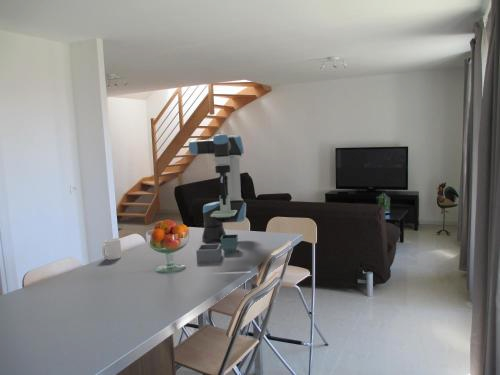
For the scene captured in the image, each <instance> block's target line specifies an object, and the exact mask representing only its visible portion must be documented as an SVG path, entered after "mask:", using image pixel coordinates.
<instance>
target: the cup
mask: <svg viewBox="0 0 500 375" xmlns="http://www.w3.org/2000/svg"><path fill="white" fill-rule="evenodd" d="M101 248H102V249H101V252H102V256H103V257H104V258H105V259H106V260H108V261H110V260H111V261H113V260H117V259H120V258H122V256H123V255H122V254H123V253H122V243H121V238H118V237H113V238H108V239H105V240H104V244H103V245H102V247H101Z"/></svg>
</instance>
